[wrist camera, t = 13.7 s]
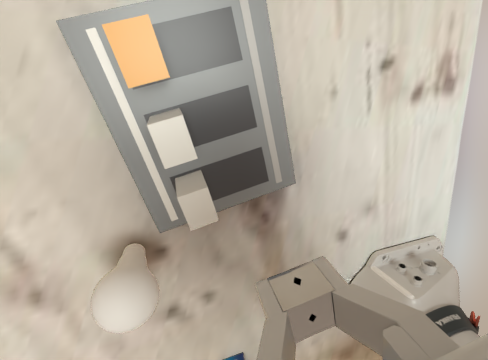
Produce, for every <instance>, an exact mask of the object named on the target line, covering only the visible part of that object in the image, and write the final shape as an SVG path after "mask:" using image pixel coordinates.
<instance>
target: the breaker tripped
mask: <svg viewBox="0 0 488 360" xmlns="http://www.w3.org/2000/svg"><path fill="white" fill-rule="evenodd" d="M102 27H103V29H104V31H105V34H106V36H107V39H108V41H109V43H110V46H111V48H112V50H113V53H114V55H115V58H116V60H117V62H118V65H119V67H120V69H121V72H122V74H123V76H124V79H125V81H126V84H127V86H128V88H133V87H136V86H140V85H144V84H147V83H151V82H155V81H159V80H162V79H166V78H170V76H169V73H168V70H167V67H166V64H165V61H164V58H163V55H162V53H161V50H160V47H159V44H158V41H157V38H156V35H155V32H154V29H153V26H152V24H151V21H150V18H149V15H148V14H146V15H142V16H137V17H133V18H129V19H124V20H120V21H115V22H111V23H106V24H102Z"/></svg>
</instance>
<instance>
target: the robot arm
mask: <svg viewBox="0 0 488 360" xmlns="http://www.w3.org/2000/svg"><path fill="white" fill-rule="evenodd" d="M255 286H256V289H257V293H258V296H259V300H260V303H261V306H262V309H263V312H264V315H265V318H266V320H265V324H264V328H263V333H262V338H261V342H260V347H259V352H258V356H257V360H295V350H296V343H298V342H300V341H302V340H304V339H306V338H308V337H310V336H312V335H314V334H317V333H319V332H321V331H324V330H326V329H329V328H331V327H334V326H336V327H337V328H339V329H341V330H342V331H344V332H345V333H347V334H348V335H350V336H351V337H353V338H354V339H356V340H358V341H359V342H361V343H362V344H364V345H365V346H367V347H368V348H370V349H371V350H373V351H375V352H376V353H378V354H379V355H381V356H382V357H383V360H488V334H486V335H484V336H482V337H480V336H479V335H478V330H479V326H478V323H479V319H480V316H478V317H477V319H475V313H474V312H473V311H472V312H471V315H470V319H469V318H468V317H467V316H466V315H465V313H464V312H463V311H462V309H461V308H460V300H459V277H458V273H457V271H456V269H455V267H454V266H453V265H452V264H451V263H450V262H449V261H448V260H447V259H446V258H444V257H443V247H442V243H441V241H440V240H439V239H438V238H437V237H435V236H431V237H427V238H423V239H420V240H416V241H412V242H409V243H405V244H401V245H397V246H394V247H390V248H386V249H383V250H379V251H376V252H374V253H373V254H372V255H371V257H370V258H369V260H368V262H367V264H366V266H365V267H364V268H363V269H362V270H361V271H360V272H359V273H358V274H357V276H356V277H355V278H354V279H353V281H352V282H351V284H350V285H349V284H348V283H347V282H346V281H345V280H344V279H343V278H342V276H341V275H340V274H339V273H338V272H337V271H336V269H335V268H334V267H333V266H332V265H331V264H330V263H329V261H328V260H327V259H326V258H325V257H323V256H322V257H320V258H317V259H315V260H312V261H310V262H307V263H305V264H302V265H300V266H297V267H295V268H292V269H290V270H288V271H286V272H283V273H280V274H277V275H275V276H272V277H269V278H267V279H264V280H262V281H259V282H256V283H255Z"/></svg>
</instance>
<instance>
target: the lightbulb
mask: <svg viewBox="0 0 488 360" xmlns="http://www.w3.org/2000/svg"><path fill="white" fill-rule="evenodd" d="M158 301H159V285H158V282H157V280H156V278H155V276H154V275H153V274H152V273H151V271H150V270H149V269H148V268H147V260H146V258H145V248H144V247H143V246H142V245H140V244H130V245H128V246H126V247H125V249H124V251H123V254H122V256H121V258H120V259H119V260H118V263H117V266H116V267H115V268H114V269H112V270H111V271H110V272H108V273H107V274H106V275H105V276H104V277H103V278H102V279H101V280H100V281H99V282H98V284H97V285H96V287H95V289H94V291H93V294H92V297H91V313H92V316H93V318H94V320H95V321H96V323H97V324H98V325H99V326H100V327H101V328H102V329H104V330H106V331H108V332H111V333H127V332H130V331H133V330H135V329H137V328H139V327H140V326H142V325H143V324H144V323H145V322H146V321H147V320H148V319H149V318H150V317H151V316H152V314H153V313H154V311H155V309H156V307H157V304H158Z"/></svg>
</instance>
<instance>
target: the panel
mask: <svg viewBox="0 0 488 360" xmlns="http://www.w3.org/2000/svg"><path fill="white" fill-rule="evenodd" d="M146 14H148V15H149V18H150V21H151V24H152V26H153V29H154V32H155V35H156V38H157V41H158V44H159V47H160V50H161V53H162V55H163V58H164V61H165V64H166V67H167V70H168V73H169V76H170V78H166V79H162V80H159V81H155V82H151V83H147V84H144V85H140V86H136V87H133V88H128V86H127V84H126V81H125V79H124V76H123V74H122V72H121V69H120V67H119V65H118V62H117V60H116V58H115V55H114V53H113V50H112V48H111V46H110V43H109V41H108V39H107V36H106V34H105V31H104V29H103V27H102V24H106V23H111V22H115V21H120V20H124V19H129V18H133V17H137V16H142V15H146ZM56 22H57V24H58V26H59V28H60V30H61V32H62V34H63V36H64V38H65V40H66V42H67V44H68V46H69V49H70V51H71V53H72V55H73V57H74V59H75V61H76V63H77V65H78V67H79V69H80V71H81V73H82V75H83V77H84V79H85V81H86V83H87V85H88V87H89V89H90V91H91V93H92V95H93V98H94V100H95V102H96V104H97V106H98V108H99V110H100V112H101V114H102V116H103V118H104V120H105V122H106V124H107V126H108V128H109V130H110V132H111V134H112V136H113V138H114V140H115V142H116V145H117V147H118V149H119V151H120V153H121V155H122V157H123V159H124V161H125V163H126V165H127V167H128V169H129V171H130V173H131V175H132V177H133V179H134V181H135V183H136V185H137V187H138V189H139V191H140V194H141V196H142V198H143V200H144V202H145V204H146V206H147V208H148V210H149V212H150V214H151V216H152V218H153V220H154V222H155V224H156V226H157V228H158V230H159V232H160V233H162V232H165V231H167V230H170V229H173V228H176V227H178V226H181V225H184V224H186V223H188V226H189V228H190V230H191V231H193V230H196V229H198V228H201V227H204V226H206V225H209V224H212V223H214V222H217V221H219V219H218V216H217V213H216V212H219V211H222V210H224V209H227V208H230V207H233V206H235V205H238V204H241V203H243V202H246V201H249V200H252V199H254V198H257V197H260V196H262V195H265V194H268V193H271V192H273V191H276V190H279V189H281V188H284V187H287V186H290V185H292V184H295V183H296V181H295V175H294V169H293V163H292V157H291V151H290V144H289V138H288V132H287V126H286V120H285V114H284V107H283V101H282V95H281V89H280V83H279V77H278V71H277V64H276V58H275V52H274V46H273V40H272V34H271V28H270V21H269V15H268V9H267V3H266V0H150V1H145V2H141V3H136V4H131V5H127V6H122V7H118V8H113V9H108V10H104V11H99V12H94V13H90V14H85V15H80V16H76V17H71V18H67V19H62V20H57V21H56Z"/></svg>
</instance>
